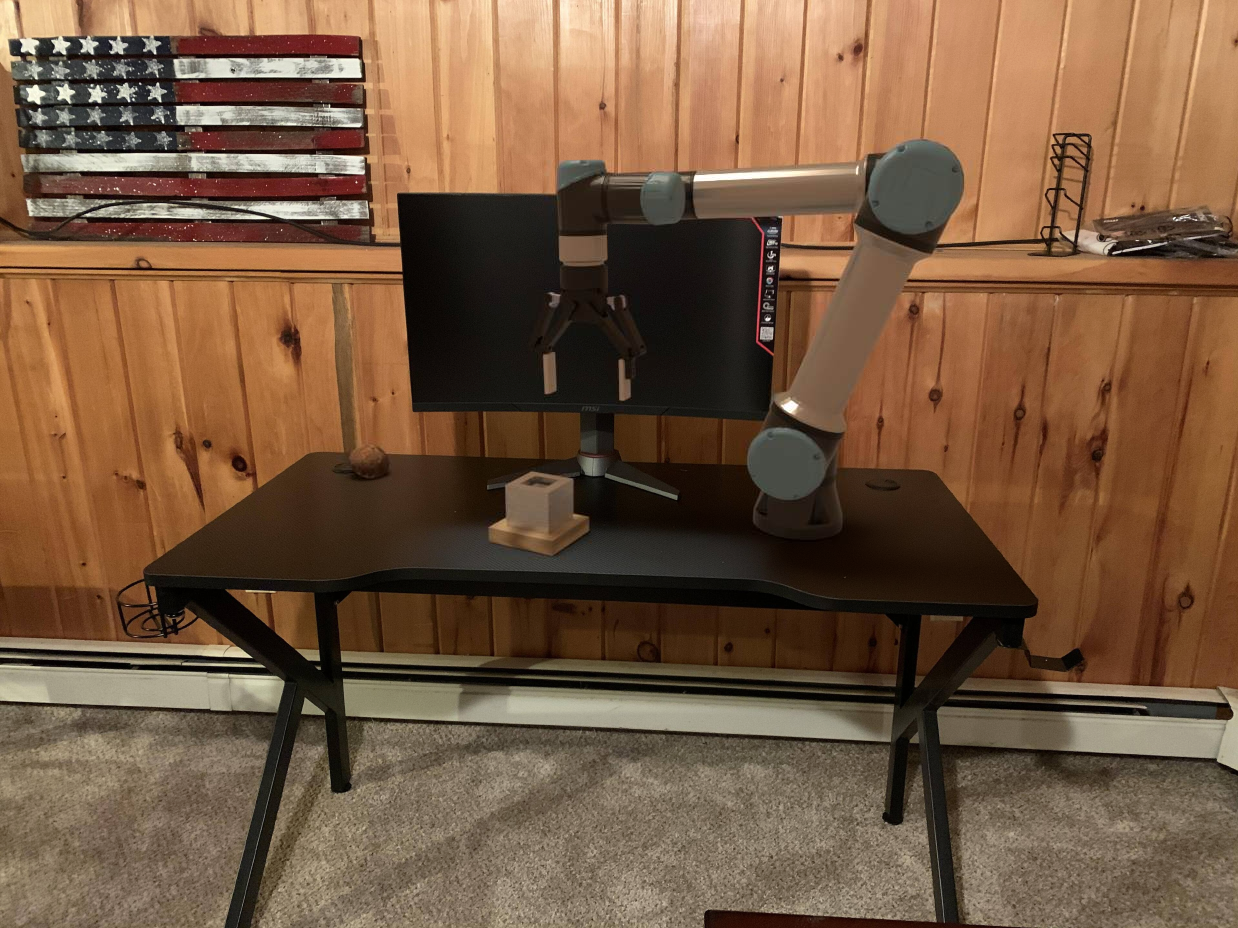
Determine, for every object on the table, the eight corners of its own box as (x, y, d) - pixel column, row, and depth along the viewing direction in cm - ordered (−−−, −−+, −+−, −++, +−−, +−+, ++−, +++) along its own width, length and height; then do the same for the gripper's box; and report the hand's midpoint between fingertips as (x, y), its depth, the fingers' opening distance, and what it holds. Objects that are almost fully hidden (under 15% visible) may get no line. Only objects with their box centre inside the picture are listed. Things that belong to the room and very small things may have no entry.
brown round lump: (343, 454, 184) (354, 433, 180) (381, 464, 188) (393, 443, 184) (342, 483, 178) (353, 462, 175) (381, 493, 182) (393, 472, 179)
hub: (573, 518, 154) (573, 478, 151) (548, 534, 147) (548, 493, 145) (532, 510, 157) (531, 471, 155) (506, 525, 150) (505, 485, 148)
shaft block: (589, 530, 155) (589, 483, 152) (552, 555, 145) (551, 505, 142) (528, 518, 160) (527, 471, 158) (488, 541, 150) (487, 492, 147)
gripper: (666, 262, 143) (666, 396, 149) (526, 259, 153) (532, 385, 159) (647, 267, 136) (648, 406, 143) (502, 263, 146) (509, 394, 153)
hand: (587, 395), depth 151 cm, fingers open, 13 cm apart
